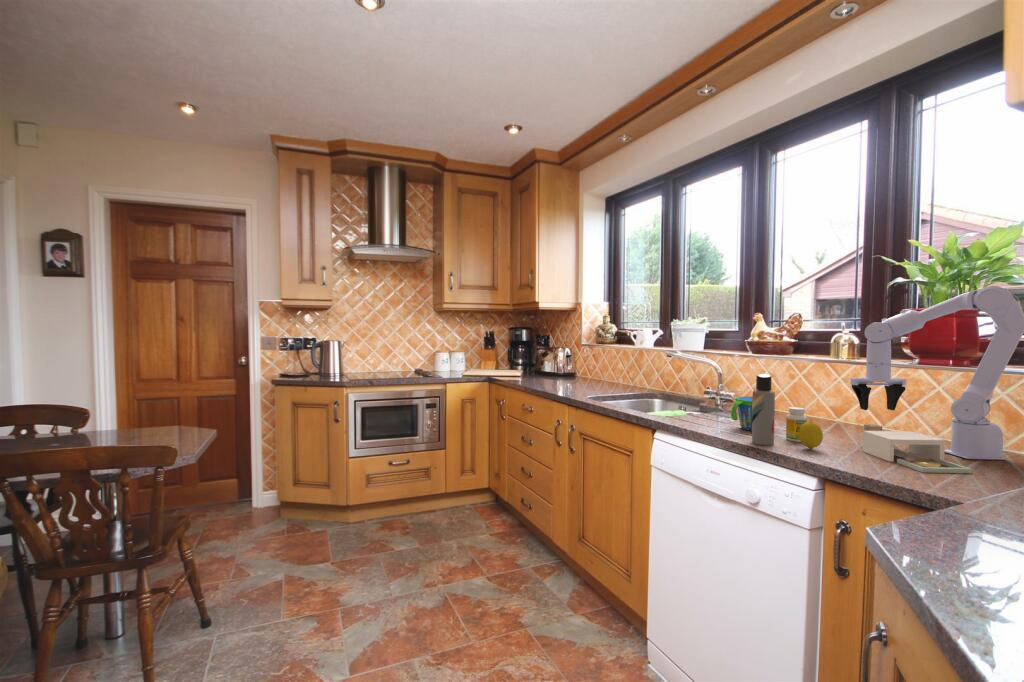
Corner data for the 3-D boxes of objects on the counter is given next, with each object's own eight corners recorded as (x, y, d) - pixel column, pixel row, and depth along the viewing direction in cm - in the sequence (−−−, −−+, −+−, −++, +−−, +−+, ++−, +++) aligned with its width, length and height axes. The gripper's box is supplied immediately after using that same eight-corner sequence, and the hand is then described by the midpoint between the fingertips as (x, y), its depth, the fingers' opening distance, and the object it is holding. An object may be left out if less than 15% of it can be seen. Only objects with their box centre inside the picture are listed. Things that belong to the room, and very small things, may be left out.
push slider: (858, 445, 135) (859, 424, 135) (878, 445, 135) (879, 424, 134) (907, 462, 117) (907, 438, 117) (930, 463, 117) (930, 439, 117)
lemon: (826, 452, 127) (826, 422, 126) (803, 451, 128) (804, 422, 127) (817, 447, 132) (817, 419, 132) (795, 446, 133) (796, 418, 133)
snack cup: (741, 433, 149) (742, 401, 149) (721, 426, 160) (722, 396, 160) (785, 431, 152) (786, 400, 152) (763, 425, 162) (763, 395, 162)
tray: (942, 463, 116) (942, 459, 116) (971, 473, 109) (971, 469, 109) (897, 462, 117) (897, 458, 117) (922, 472, 109) (922, 468, 109)
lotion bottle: (773, 442, 138) (774, 374, 137) (774, 446, 133) (776, 375, 132) (751, 440, 140) (752, 373, 140) (752, 444, 135) (753, 374, 134)
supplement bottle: (796, 437, 144) (797, 406, 144) (811, 441, 139) (812, 409, 138) (781, 438, 143) (782, 407, 142) (796, 442, 137) (796, 410, 137)
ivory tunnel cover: (912, 452, 127) (912, 431, 127) (944, 462, 117) (944, 440, 117) (862, 451, 128) (862, 430, 128) (889, 461, 118) (889, 439, 118)
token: (929, 464, 117) (929, 459, 117) (946, 470, 112) (946, 465, 112) (908, 463, 117) (908, 459, 117) (924, 470, 112) (924, 465, 112)
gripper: (894, 362, 142) (893, 407, 143) (844, 362, 143) (843, 407, 143) (912, 364, 135) (911, 411, 136) (859, 364, 136) (858, 411, 136)
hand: (877, 409), depth 139 cm, fingers open, 7 cm apart
